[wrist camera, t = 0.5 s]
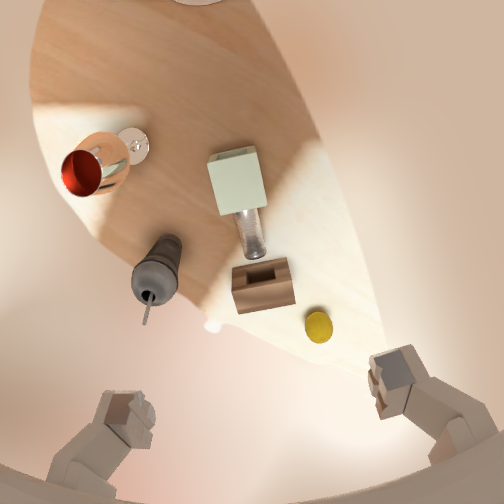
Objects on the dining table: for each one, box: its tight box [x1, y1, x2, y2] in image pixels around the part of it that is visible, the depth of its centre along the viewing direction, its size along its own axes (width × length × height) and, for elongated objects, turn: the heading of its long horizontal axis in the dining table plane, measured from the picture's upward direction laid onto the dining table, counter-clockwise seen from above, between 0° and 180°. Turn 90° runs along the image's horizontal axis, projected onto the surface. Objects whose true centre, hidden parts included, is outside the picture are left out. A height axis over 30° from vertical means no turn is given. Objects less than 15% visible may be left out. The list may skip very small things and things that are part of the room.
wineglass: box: [61, 128, 149, 197], centre depth 38 cm, size 8×8×18 cm
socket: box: [231, 258, 296, 314], centre depth 55 cm, size 5×10×8 cm, turn 102°
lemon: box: [305, 312, 333, 343], centre depth 60 cm, size 6×6×8 cm
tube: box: [234, 208, 266, 260], centre depth 48 cm, size 16×4×4 cm, turn 12°
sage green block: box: [207, 145, 268, 216], centre depth 46 cm, size 8×7×7 cm
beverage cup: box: [131, 234, 182, 325], centre depth 46 cm, size 7×7×20 cm
